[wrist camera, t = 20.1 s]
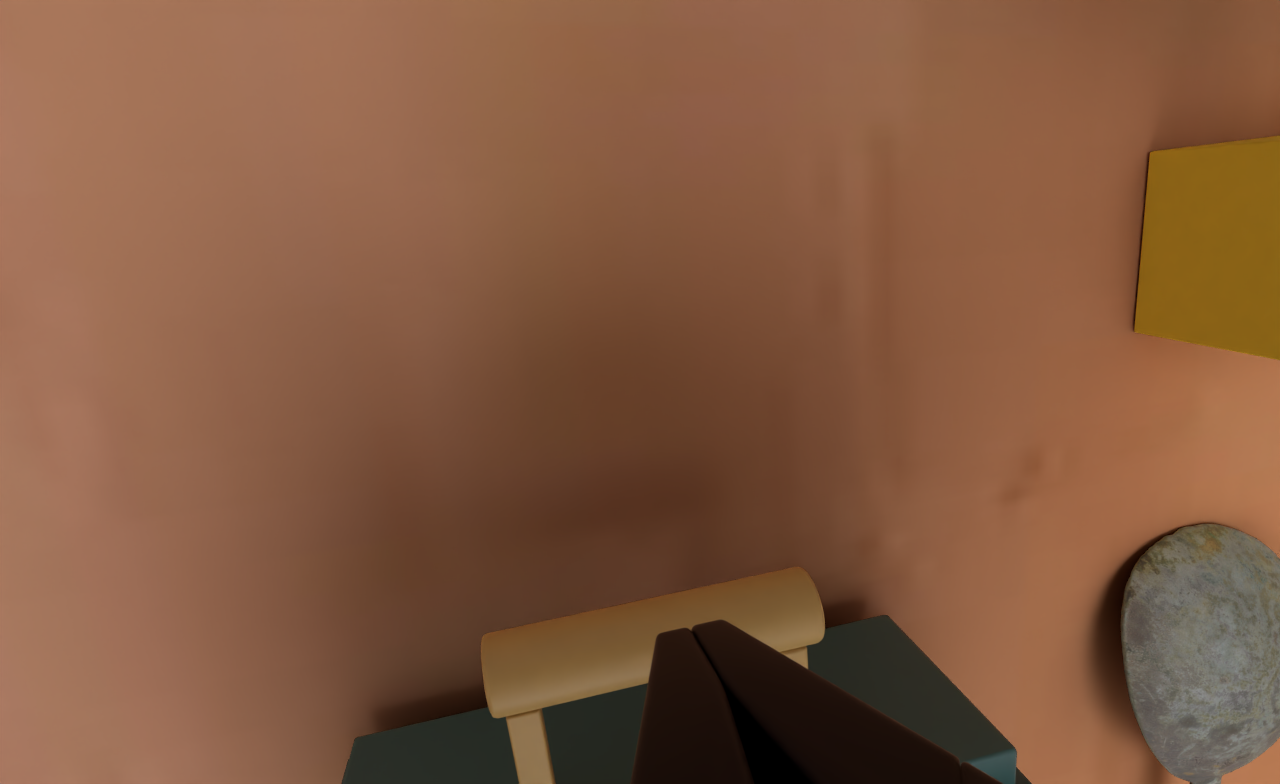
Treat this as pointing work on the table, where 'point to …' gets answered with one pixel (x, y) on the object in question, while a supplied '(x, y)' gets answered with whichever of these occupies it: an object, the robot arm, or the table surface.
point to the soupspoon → (1204, 650)
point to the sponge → (1213, 247)
